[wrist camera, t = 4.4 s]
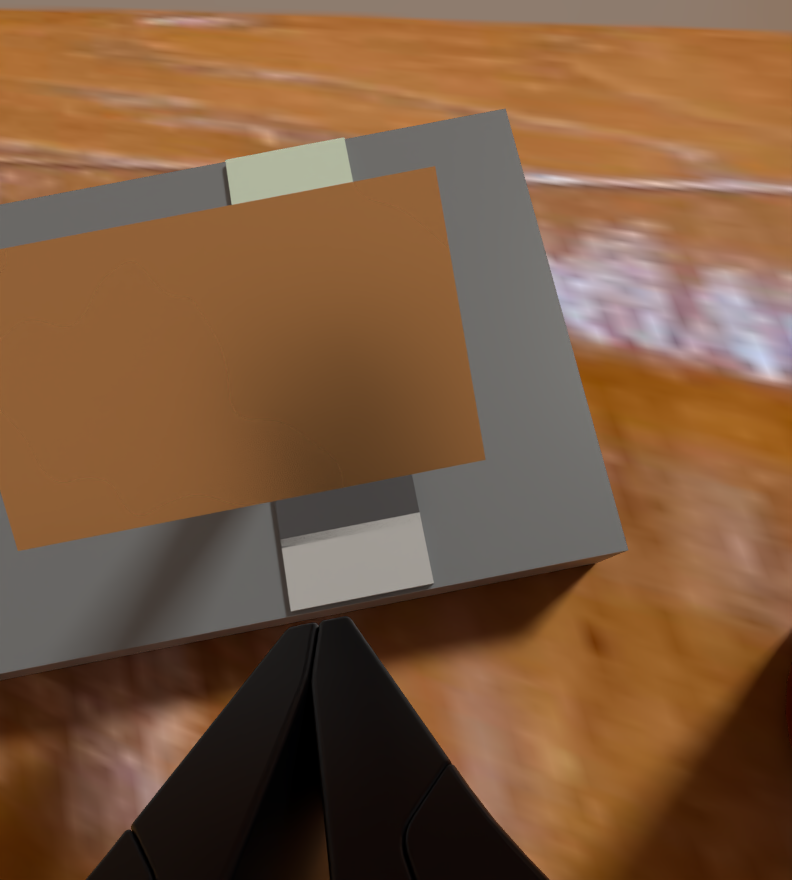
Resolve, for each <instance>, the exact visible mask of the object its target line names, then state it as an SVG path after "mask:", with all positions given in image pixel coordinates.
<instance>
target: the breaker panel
mask: <svg viewBox="0 0 792 880" xmlns="http://www.w3.org/2000/svg"><path fill="white" fill-rule="evenodd" d="M433 166H435V168H436V174H437V180H438V185H439V191H440V197H441V203H442V209H443V215H444V220H445V226H446V232H447V238H448V244H449V249H450V255H451V261H452V267H453V273H454V279H455V284H456V290H457V296H458V302H459V308H460V313H461V319H462V325H463V331H464V337H465V343H466V348H467V354H468V360H469V366H470V372H471V377H472V383H473V389H474V395H475V401H476V407H477V412H478V418H479V424H480V430H481V436H482V441H483V447H484V453H485V459H486V460H482V461H477V462H472V463H467V464H462V465H457V466H452V467H447V468H441V469H436V470H431V471H426V472H421V473H416V474H411V475H406V476H400V477H395V478H390V479H385V480H380V481H375V482H370V483H365V484H359V485H354V486H349V487H344V488H339V489H334V490H329V491H324V492H318V493H313V494H308V495H303V496H298V497H293V498H288V499H283V500H277V501H272V502H267V503H262V504H257V505H252V506H247V507H242V508H236V509H231V510H226V511H221V512H216V513H211V514H206V515H201V516H195V517H190V518H185V519H180V520H175V521H170V522H165V523H160V524H154V525H149V526H144V527H139V528H134V529H129V530H124V531H119V532H113V533H108V534H103V535H98V536H93V537H88V538H83V539H78V540H72V541H67V542H62V543H57V544H52V545H47V546H42V547H37V548H31V549H26V550H21V551H18V550H17V546H16V543H15V540H14V536H13V533H12V529H11V526H10V523H9V519H8V516H7V512H6V509H5V505H4V502H3V499H2V495H1V492H0V680H5V679H10V678H15V677H20V676H25V675H30V674H35V673H40V672H45V671H50V670H56V669H61V668H66V667H71V666H76V665H81V664H86V663H91V662H96V661H101V660H106V659H111V658H116V657H122V656H127V655H132V654H137V653H142V652H147V651H152V650H157V649H162V648H167V647H172V646H177V645H182V644H188V643H193V642H198V641H203V640H208V639H213V638H218V637H223V636H228V635H233V634H238V633H243V632H249V631H254V630H259V629H264V628H269V627H274V626H279V625H284V624H289V623H294V622H299V621H304V620H309V619H315V618H320V617H325V616H330V615H335V614H340V613H345V612H350V611H355V610H360V609H365V608H370V607H375V606H381V605H386V604H391V603H396V602H401V601H406V600H411V599H416V598H421V597H426V596H431V595H436V594H441V593H447V592H452V591H457V590H462V589H467V588H472V587H477V586H482V585H487V584H492V583H497V582H502V581H507V580H513V579H518V578H523V577H528V576H533V575H538V574H543V573H548V572H553V571H558V570H563V569H568V568H573V567H579V566H584V565H589V564H594V563H598V562H600V561H603V560H605V559H608V558H610V557H613V556H615V555H617V554H620V553H622V552H625V551H627V550H628V548H627V544H626V540H625V537H624V533H623V530H622V526H621V522H620V519H619V515H618V512H617V508H616V504H615V501H614V497H613V494H612V490H611V486H610V483H609V479H608V476H607V472H606V468H605V465H604V461H603V458H602V454H601V450H600V447H599V443H598V440H597V436H596V433H595V429H594V425H593V422H592V418H591V415H590V411H589V407H588V404H587V400H586V397H585V393H584V389H583V386H582V382H581V379H580V375H579V371H578V368H577V364H576V361H575V357H574V353H573V350H572V346H571V343H570V339H569V335H568V332H567V328H566V325H565V321H564V317H563V314H562V310H561V307H560V303H559V299H558V296H557V292H556V289H555V285H554V281H553V278H552V274H551V271H550V267H549V264H548V260H547V256H546V253H545V249H544V246H543V242H542V238H541V235H540V231H539V228H538V224H537V220H536V217H535V213H534V210H533V206H532V202H531V199H530V195H529V192H528V188H527V184H526V181H525V177H524V174H523V170H522V166H521V163H520V159H519V156H518V152H517V148H516V145H515V141H514V138H513V134H512V130H511V127H510V123H509V120H508V116H507V113H506V109H501V110H496V111H491V112H486V113H480V114H475V115H470V116H465V117H459V118H454V119H449V120H444V121H438V122H433V123H428V124H423V125H417V126H412V127H407V128H401V129H396V130H391V131H386V132H380V133H375V134H370V135H365V136H359V137H354V138H349V139H344V138H338V139H333V140H328V141H323V142H317V143H312V144H307V145H302V146H296V147H291V148H286V149H280V150H275V151H270V152H265V153H259V154H254V155H249V156H244V157H238V158H233V159H228V160H225V162H223V163H217V164H212V165H207V166H202V167H196V168H191V169H186V170H181V171H175V172H170V173H165V174H160V175H154V176H149V177H144V178H138V179H133V180H128V181H123V182H117V183H112V184H107V185H102V186H96V187H91V188H86V189H81V190H75V191H70V192H65V193H60V194H54V195H49V196H44V197H39V198H33V199H28V200H23V201H18V202H12V203H7V204H2V205H0V249H3V248H9V247H14V246H19V245H24V244H30V243H35V242H40V241H45V240H50V239H56V238H61V237H66V236H71V235H77V234H82V233H87V232H92V231H98V230H103V229H108V228H113V227H119V226H124V225H129V224H134V223H140V222H145V221H150V220H155V219H161V218H166V217H171V216H176V215H182V214H187V213H192V212H197V211H203V210H208V209H213V208H218V207H223V206H229V205H234V204H239V203H244V202H250V201H255V200H260V199H265V198H271V197H276V196H281V195H286V194H292V193H297V192H302V191H307V190H313V189H318V188H323V187H328V186H334V185H339V184H344V183H349V182H355V181H360V180H365V179H370V178H375V177H381V176H386V175H391V174H396V173H402V172H407V171H412V170H417V169H423V168H428V167H433Z"/></svg>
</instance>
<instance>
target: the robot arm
mask: <svg viewBox="0 0 792 880" xmlns="http://www.w3.org/2000/svg"><path fill="white" fill-rule="evenodd" d="M131 829H132V831H131V830H126V831H125V832H124V833H123V835H122V836H121V837H120V838H119V840H118V841H117V842H116V843H115V845H114V846H113V847H112V848H111V850H110V851H109V852H108V853H107V855H106V856H105V857H104V858H103V860H102V861H101V862H100V863H99V864H98V866H97V867H96V868H95V869H94V870H93V872H92V873H91V874H90V875H89V876H88V878H87V879H86V880H549V879H548V877H547V876H546V875H545V874H544V873H543V872H542V871H541V870H540V869H539V868H538V867H537V866H536V865H535V864H534V863H533V862H532V861H531V860H530V859H529V858H528V857H527V856H526V854H525V853H524V852H523V851H522V850H521V849H520V848H519V847H518V845H517V844H516V843H515V842H514V841H513V840H512V839H511V838H510V836H509V835H508V834H507V833H506V832H505V831H504V830H503V829H502V827H501V826H500V825H499V824H498V823H497V822H496V821H495V820H494V818H493V817H492V816H491V814H490V813H489V812H488V810H487V809H486V808H485V807H484V805H483V804H482V803H481V801H480V800H479V799H478V797H477V796H476V795H475V794H474V792H473V791H472V790H471V788H470V787H469V786H468V784H467V783H466V781H465V780H464V778H463V777H462V776H461V774H460V773H459V771H458V770H457V768H456V767H455V766H454V765H452V763H451V761H450V760H449V758H448V757H447V756H446V754H445V753H444V751H443V750H442V748H441V747H440V745H439V744H438V743H437V741H436V740H435V738H434V737H433V735H432V734H431V733H430V731H429V730H428V728H427V727H426V725H425V724H424V723H423V721H422V720H421V718H420V717H419V715H418V714H417V713H416V711H415V710H414V708H413V707H412V705H411V704H410V703H409V701H408V700H407V698H406V697H405V695H404V694H403V693H402V691H401V690H400V688H399V687H398V685H397V684H396V683H395V681H394V680H393V678H392V677H391V675H390V674H389V673H388V671H387V670H386V668H385V667H384V665H383V664H382V663H381V661H380V660H379V658H378V657H377V655H376V654H375V652H374V651H373V650H372V648H371V647H370V645H369V644H368V642H367V641H366V640H365V638H364V637H363V635H362V634H361V632H360V631H359V630H358V628H357V627H356V625H355V624H354V622H353V621H352V620H351V619H350V618H349V617H347V616H344V617H339V618H334V619H329V620H324V621H322V622H321V623H320V625H318V624H316V623H309V624H304V625H299V626H294V627H290V628H289V629H287V630H286V631H285V632H284V634H283V635H282V636H281V638H280V639H279V640H278V641H277V643H276V644H275V645H274V646H273V648H272V649H271V650H270V651H269V653H268V654H267V655H266V656H265V658H264V659H263V660H262V661H261V663H260V664H259V665H258V666H257V668H256V669H255V670H254V671H253V673H252V674H251V675H250V677H249V678H248V679H247V680H246V682H245V683H244V684H243V685H242V687H241V688H240V689H239V690H238V692H237V693H236V694H235V695H234V697H233V698H232V699H231V700H230V702H229V703H228V704H227V705H226V707H225V708H224V709H223V710H222V712H221V713H220V714H219V715H218V717H217V718H216V719H215V721H214V722H213V723H212V724H211V726H210V727H209V728H208V729H207V731H206V732H205V733H204V734H203V736H202V737H201V738H200V739H199V741H198V742H197V743H196V744H195V746H194V747H193V748H192V749H191V751H190V752H189V753H188V754H187V756H186V757H185V758H184V760H183V761H182V762H181V763H180V765H179V766H178V767H177V768H176V770H175V771H174V772H173V773H172V775H171V776H170V777H169V778H168V780H167V781H166V782H165V783H164V785H163V786H162V787H161V788H160V790H159V791H158V792H157V793H156V795H155V796H154V797H153V799H152V800H151V801H150V802H149V804H148V805H147V806H146V807H145V809H144V810H143V811H142V812H141V814H140V815H139V816H138V817H137V819H136V820H135V821H134V822H133V824H132V826H131Z"/></svg>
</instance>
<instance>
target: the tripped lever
mask: <svg viewBox="0 0 792 880" xmlns="http://www.w3.org/2000/svg"><path fill="white" fill-rule="evenodd" d="M482 460H486V459H485V453H484V447H483V441H482V436H481V430H480V424H479V418H478V412H477V407H476V401H475V395H474V389H473V383H472V377H471V372H470V366H469V360H468V354H467V348H466V343H465V337H464V331H463V325H462V319H461V313H460V308H459V302H458V296H457V290H456V284H455V279H454V273H453V267H452V261H451V255H450V249H449V244H448V238H447V232H446V226H445V220H444V215H443V209H442V203H441V197H440V191H439V185H438V180H437V174H436V168H435V166H433V167H428V168H423V169H417V170H412V171H407V172H402V173H396V174H391V175H386V176H381V177H375V178H370V179H365V180H360V181H355V182H349V183H344V184H339V185H334V186H328V187H323V188H318V189H313V190H307V191H302V192H297V193H292V194H286V195H281V196H276V197H271V198H265V199H260V200H255V201H250V202H244V203H239V204H234V205H229V206H223V207H218V208H213V209H208V210H203V211H197V212H192V213H187V214H182V215H176V216H171V217H166V218H161V219H155V220H150V221H145V222H140V223H134V224H129V225H124V226H119V227H113V228H108V229H103V230H98V231H92V232H87V233H82V234H77V235H71V236H66V237H61V238H56V239H50V240H45V241H40V242H35V243H30V244H24V245H19V246H14V247H9V248H3V249H0V492H1V495H2V499H3V502H4V505H5V509H6V512H7V516H8V519H9V523H10V526H11V529H12V533H13V536H14V540H15V543H16V546H17V550H18V551H21V550H26V549H31V548H37V547H42V546H47V545H52V544H57V543H62V542H67V541H72V540H78V539H83V538H88V537H93V536H98V535H103V534H108V533H113V532H119V531H124V530H129V529H134V528H139V527H144V526H149V525H154V524H160V523H165V522H170V521H175V520H180V519H185V518H190V517H195V516H201V515H206V514H211V513H216V512H221V511H226V510H231V509H236V508H242V507H247V506H252V505H257V504H262V503H267V502H272V501H277V500H283V499H288V498H293V497H298V496H303V495H308V494H313V493H318V492H324V491H329V490H334V489H339V488H344V487H349V486H354V485H359V484H365V483H370V482H375V481H380V480H385V479H390V478H395V477H400V476H406V475H411V474H416V473H421V472H426V471H431V470H436V469H441V468H447V467H452V466H457V465H462V464H467V463H472V462H477V461H482Z"/></svg>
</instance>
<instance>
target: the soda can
mask: <svg viewBox="0 0 792 880" xmlns="http://www.w3.org/2000/svg"><path fill="white" fill-rule="evenodd" d="M785 713H786V720H787V727H788V733H789V740H790V746H791V749H792V663H791V667H790V671H789V675H788V679H787V686H786V711H785Z"/></svg>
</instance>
